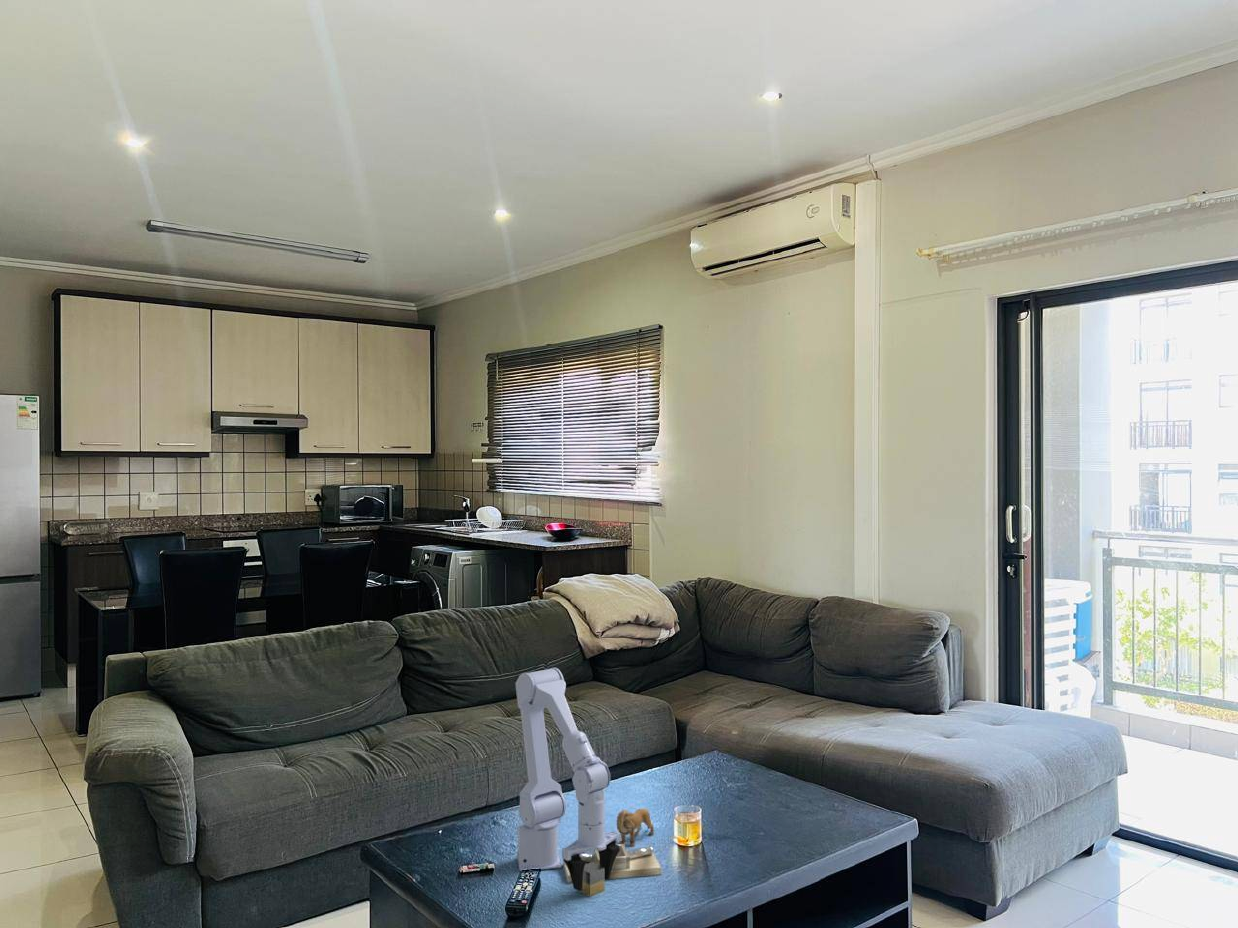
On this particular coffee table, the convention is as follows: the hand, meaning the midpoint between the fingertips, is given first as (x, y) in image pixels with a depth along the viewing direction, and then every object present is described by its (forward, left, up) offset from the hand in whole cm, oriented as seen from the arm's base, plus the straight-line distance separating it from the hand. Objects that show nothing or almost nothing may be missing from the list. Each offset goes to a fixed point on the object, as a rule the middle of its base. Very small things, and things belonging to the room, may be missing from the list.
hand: (591, 883), depth 189 cm
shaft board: (+6, +9, -1) cm, 11 cm away
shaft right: (+13, +11, 0) cm, 17 cm away
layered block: (0, 0, -2) cm, 2 cm away
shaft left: (-1, +11, 0) cm, 11 cm away
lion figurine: (+15, +23, -2) cm, 27 cm away
